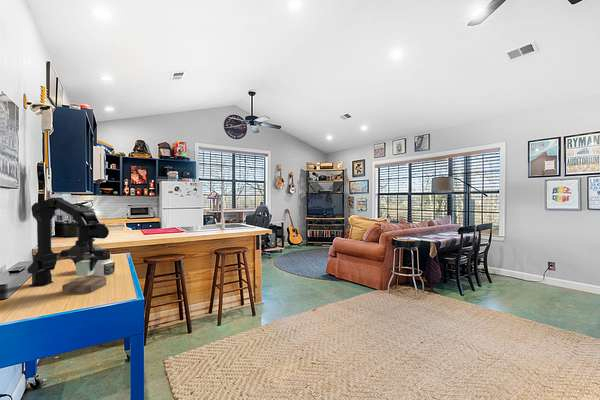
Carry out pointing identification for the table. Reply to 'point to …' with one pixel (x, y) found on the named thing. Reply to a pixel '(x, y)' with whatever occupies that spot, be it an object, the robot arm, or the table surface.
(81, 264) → the sage pill box
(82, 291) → the walnut block
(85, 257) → the decorative egg
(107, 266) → the medicine bottle
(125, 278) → the table surface
